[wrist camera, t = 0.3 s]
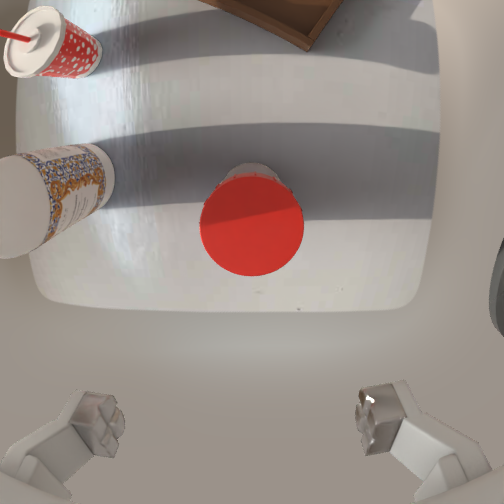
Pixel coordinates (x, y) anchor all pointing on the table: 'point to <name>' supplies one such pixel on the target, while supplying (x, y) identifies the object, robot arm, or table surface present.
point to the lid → (251, 224)
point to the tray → (284, 16)
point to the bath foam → (50, 193)
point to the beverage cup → (49, 46)
